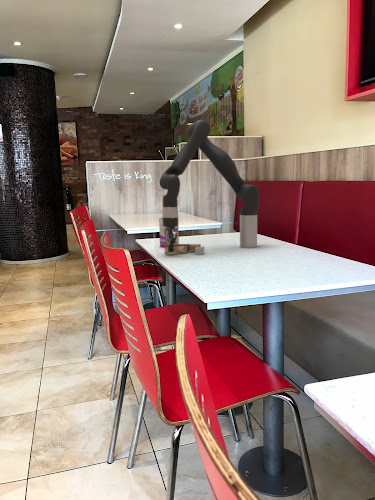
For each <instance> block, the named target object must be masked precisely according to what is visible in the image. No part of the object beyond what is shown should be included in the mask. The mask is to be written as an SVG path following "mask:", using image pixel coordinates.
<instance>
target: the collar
mask: <svg viewBox="0 0 375 500" xmlns="http://www.w3.org/2000/svg"><path fill="white" fill-rule="evenodd" d="M194 254H195V255H194V256H202V255H203V256H204V255H205V246H201V247H196V248H195V253H194Z"/></svg>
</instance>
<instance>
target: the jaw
mask: <svg viewBox="0 0 375 500" xmlns="http://www.w3.org/2000/svg"><path fill="white" fill-rule="evenodd" d="M176 254H177V255H178V254H188V253H187V246H179V247H173V252H168V247H167V248H164V255H176Z"/></svg>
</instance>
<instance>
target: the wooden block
mask: <svg viewBox="0 0 375 500" xmlns="http://www.w3.org/2000/svg"><path fill="white" fill-rule="evenodd" d="M168 245H169V244H166V248H167V247H168ZM201 245H202V244H201V243H198V244H197V243H192V244H191V243H180V244H173V247H179V246H187V253H186V254H189V253H190V254H191V253H193V254H195V248H196V247H202V246H201Z"/></svg>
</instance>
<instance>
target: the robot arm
mask: <svg viewBox="0 0 375 500" xmlns="http://www.w3.org/2000/svg"><path fill="white" fill-rule="evenodd" d="M186 133H187V137H188V138H189V139H188V140H187V142H186V144H184V145H183V147H182V148H181V149H180V150H179V151H178V153H176V156H175V157H174V159H173V160H172V163H171V165H170V166H169V167H168V168H167V169H166V170H165V171H164V172H163V173H162V175H161V177H160V179H159V187H160V188H161V189H163V190H167V191H166V194H165V195H163V196H162V218H163V226H164V227H166V232H165V238H166V242H167V243H168V244H169V245H168V252H173V244H175V242H176V238H177V234H176V231H175V227H176V226H178V227H179V210H178V197H179V193H180V188H181V180H180V178H179V176H181V175H183V174H184V172H185V171H186V169H187V168H188V165H189V164H190V162H191V161H192V159H193V157H194V155H195V154H196V152H197V150H201V152H202V153H203V154H204V155H205V157H206V158H208V160H209V161H210V162H211V164H212V166H213V167H214V168H215V169H216V170H217V172H218V173H219V174H220V175H221V177H223V178H224V180H225V181H226V182H227V183H228V185H229V186H230V187H231V189H232V190H233V192H234V194H235V195H236V197H238V199H239V200H240V201H242V202H243V203H242V204H243V205H242V207H241V209H240V210H239V248H247V249H248V248H249V249H251V248H253V249H254V248H257V247H258V211H259V208H260V189H259V188H258V187H257V185H255V184H247V183H246V181H244V179H243V178H242V177H241V176H240V174H239V172H238V168H237V165H236V163H235V162H234V160H233V158H232V157H231V156H230V155H229V154H228V153H227V152H226V151H225V150H223V148H221V147H219V146H217V145H216V144H214V143H213V142H212V141H211V139H209V138H208V137H209V135H210V134H211V125H210V123H209V122H208V121H207V120H205V119H200V120H196V121H195V122H193V123H191V124H189V125H188V126H187V128H186Z"/></svg>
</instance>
